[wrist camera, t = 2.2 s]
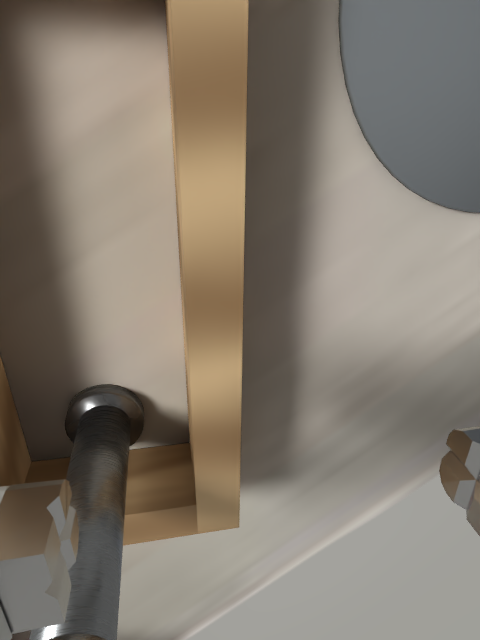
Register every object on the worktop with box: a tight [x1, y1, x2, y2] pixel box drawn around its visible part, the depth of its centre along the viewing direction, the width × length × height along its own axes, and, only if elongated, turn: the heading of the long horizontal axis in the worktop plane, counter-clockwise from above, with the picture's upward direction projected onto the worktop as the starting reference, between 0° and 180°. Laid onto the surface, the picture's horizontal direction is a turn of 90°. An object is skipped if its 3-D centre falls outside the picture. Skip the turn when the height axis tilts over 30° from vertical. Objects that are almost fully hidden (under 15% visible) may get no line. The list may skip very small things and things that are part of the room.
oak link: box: [0, 0, 248, 545], centre depth 16 cm, size 24×12×4 cm, turn 179°
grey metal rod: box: [29, 385, 144, 640], centre depth 15 cm, size 4×4×13 cm
